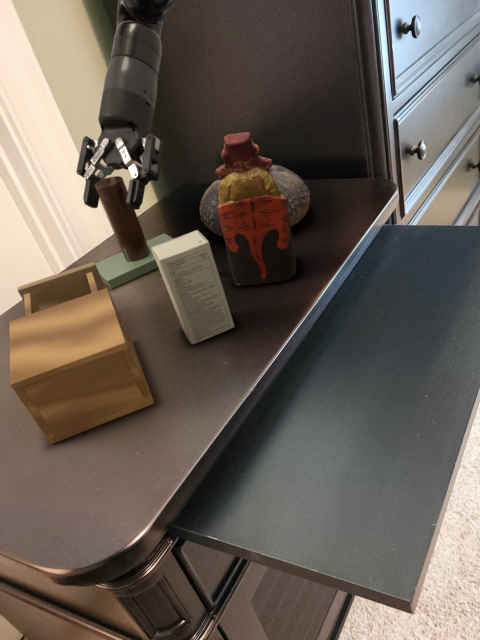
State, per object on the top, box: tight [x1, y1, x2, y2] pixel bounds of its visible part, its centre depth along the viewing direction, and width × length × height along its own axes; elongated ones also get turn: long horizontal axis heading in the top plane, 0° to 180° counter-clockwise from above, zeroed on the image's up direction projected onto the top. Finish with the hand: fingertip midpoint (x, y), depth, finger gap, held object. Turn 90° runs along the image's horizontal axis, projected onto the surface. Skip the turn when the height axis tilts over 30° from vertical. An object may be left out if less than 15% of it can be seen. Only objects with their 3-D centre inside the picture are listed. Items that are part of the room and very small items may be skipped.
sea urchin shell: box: [199, 164, 311, 239], centre depth 89 cm, size 19×19×10 cm
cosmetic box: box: [151, 229, 235, 345], centre depth 64 cm, size 6×4×12 cm
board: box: [95, 233, 174, 290], centre depth 86 cm, size 14×8×2 cm, turn 128°
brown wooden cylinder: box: [95, 175, 150, 261], centre depth 82 cm, size 4×4×12 cm
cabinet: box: [9, 287, 155, 445], centre depth 60 cm, size 14×12×9 cm
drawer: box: [16, 261, 107, 316], centre depth 70 cm, size 17×10×7 cm, turn 24°
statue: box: [214, 131, 297, 287], centre depth 71 cm, size 12×8×20 cm, turn 86°
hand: (111, 207), depth 79 cm, fingers open, 8 cm apart
